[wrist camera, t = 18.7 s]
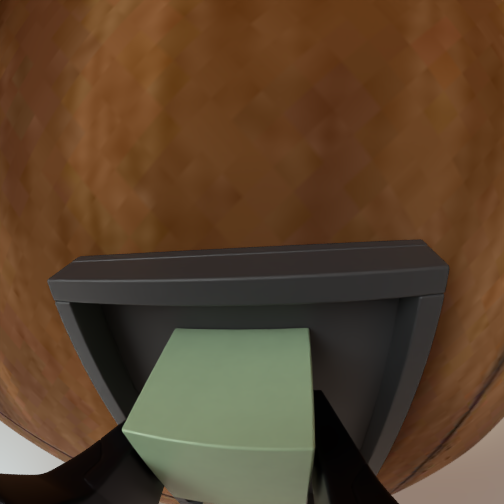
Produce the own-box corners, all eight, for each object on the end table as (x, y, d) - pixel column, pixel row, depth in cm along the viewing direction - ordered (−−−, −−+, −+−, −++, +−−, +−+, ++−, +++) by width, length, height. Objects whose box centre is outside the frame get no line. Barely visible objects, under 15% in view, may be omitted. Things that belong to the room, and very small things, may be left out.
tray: (353, 487, 14) (354, 511, 12) (186, 482, 16) (180, 504, 14) (421, 238, 8) (451, 265, 6) (79, 256, 10) (45, 279, 8)
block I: (307, 412, 11) (306, 509, 6) (200, 409, 11) (173, 496, 7) (309, 326, 9) (315, 449, 5) (174, 327, 10) (119, 429, 6)
